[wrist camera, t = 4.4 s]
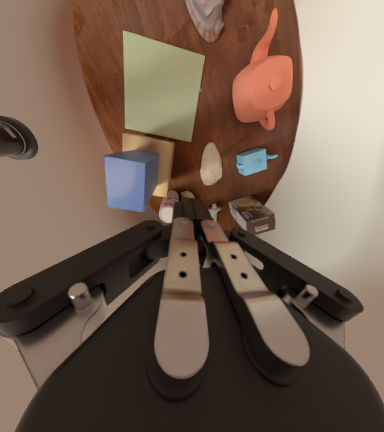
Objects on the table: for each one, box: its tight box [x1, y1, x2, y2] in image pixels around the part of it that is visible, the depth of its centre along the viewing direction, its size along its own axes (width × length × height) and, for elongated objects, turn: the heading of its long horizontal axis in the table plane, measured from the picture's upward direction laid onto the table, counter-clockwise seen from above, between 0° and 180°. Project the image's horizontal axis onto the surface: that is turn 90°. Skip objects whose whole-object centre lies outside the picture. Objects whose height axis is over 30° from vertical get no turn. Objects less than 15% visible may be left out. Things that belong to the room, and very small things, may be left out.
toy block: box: [104, 149, 159, 212], centre depth 25 cm, size 5×7×14 cm
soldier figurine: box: [208, 203, 221, 222], centre depth 56 cm, size 6×5×12 cm
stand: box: [122, 133, 175, 197], centre depth 39 cm, size 10×12×18 cm
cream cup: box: [181, 191, 195, 198], centre depth 53 cm, size 4×8×5 cm, turn 23°
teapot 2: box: [236, 148, 278, 176], centre depth 46 cm, size 12×6×8 cm, turn 107°
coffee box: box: [229, 196, 275, 235], centre depth 51 cm, size 9×6×16 cm
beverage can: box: [159, 190, 179, 223], centre depth 47 cm, size 6×6×15 cm
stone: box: [200, 142, 222, 185], centre depth 49 cm, size 8×14×2 cm, turn 7°
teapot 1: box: [232, 8, 293, 130], centre depth 36 cm, size 13×20×12 cm, turn 17°
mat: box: [123, 30, 205, 142], centre depth 40 cm, size 20×20×1 cm
